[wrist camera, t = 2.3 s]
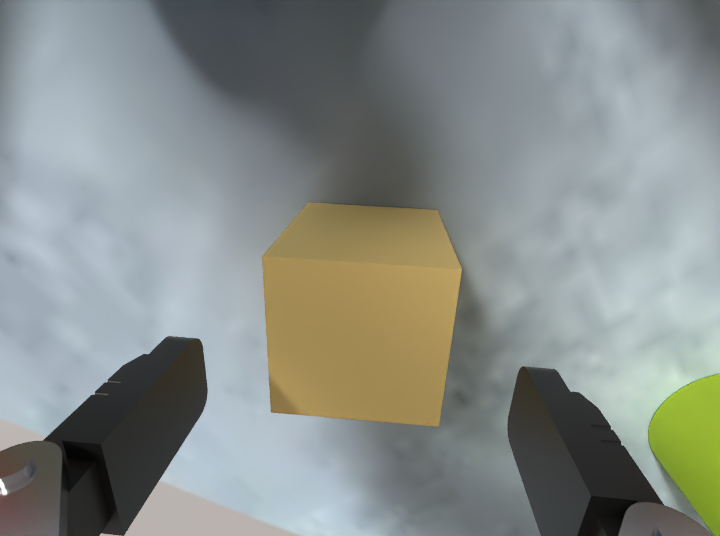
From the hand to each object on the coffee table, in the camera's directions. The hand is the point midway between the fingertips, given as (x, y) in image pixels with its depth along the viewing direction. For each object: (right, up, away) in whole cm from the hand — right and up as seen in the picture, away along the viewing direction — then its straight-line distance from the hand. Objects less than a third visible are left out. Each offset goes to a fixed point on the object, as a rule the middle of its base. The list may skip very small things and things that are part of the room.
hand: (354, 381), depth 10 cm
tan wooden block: (+1, +3, +6) cm, 7 cm away
